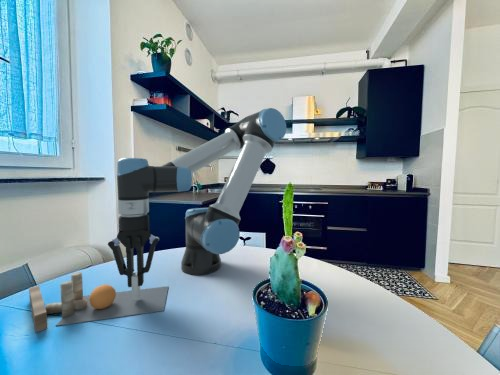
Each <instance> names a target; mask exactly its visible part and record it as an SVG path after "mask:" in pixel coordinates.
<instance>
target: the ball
mask: <svg viewBox="0 0 500 375" xmlns="http://www.w3.org/2000/svg"><path fill="white" fill-rule="evenodd" d="M116 292H117V291H116V288H114V287H113V286H112V285H109V284H101V285H99V286H96V287H95V288H94V289H93V290H92V292H90V298H89V302H90V305H91V306H92V307H93V308H95V309H104V308H107V307H108V306H110V305H111V304H112V303H113V301H114V300H115V297H116Z"/></svg>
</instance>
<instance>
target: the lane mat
mask: <svg viewBox="0 0 500 375" xmlns="http://www.w3.org/2000/svg"><path fill="white" fill-rule="evenodd" d="M168 290H169V286H159V287H151V288H150V287H149V288H140V295H139V298H138V299H135V300H132V289H131V290H124V291H123V290H122V291H116V297H115V300H114V301H113V303H112V304H111V305H110V306H108V307H107V308H104V309H95V308H93V307H92V306H91V305H90V302H89V298H90V295H91V294H90V295H83V299H87V306H86V307H85V309H80V310H74V314H73V315H72V316H70V317H66V318H62V317H61V319H60V320H59V321H58V322H57V323H56V324H55V326H56V327H60V326H67V325H75V324H82V323H89V322H96V321H103V320H111V319H115V318H116V319H117V318H122V317H123V318H125V317H130V316H137V315H138V316H139V315H145V314H153V313H159V312H164V310H165V307H166V302H167V301H166V300H167V295H168V292H167V291H168Z"/></svg>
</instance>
